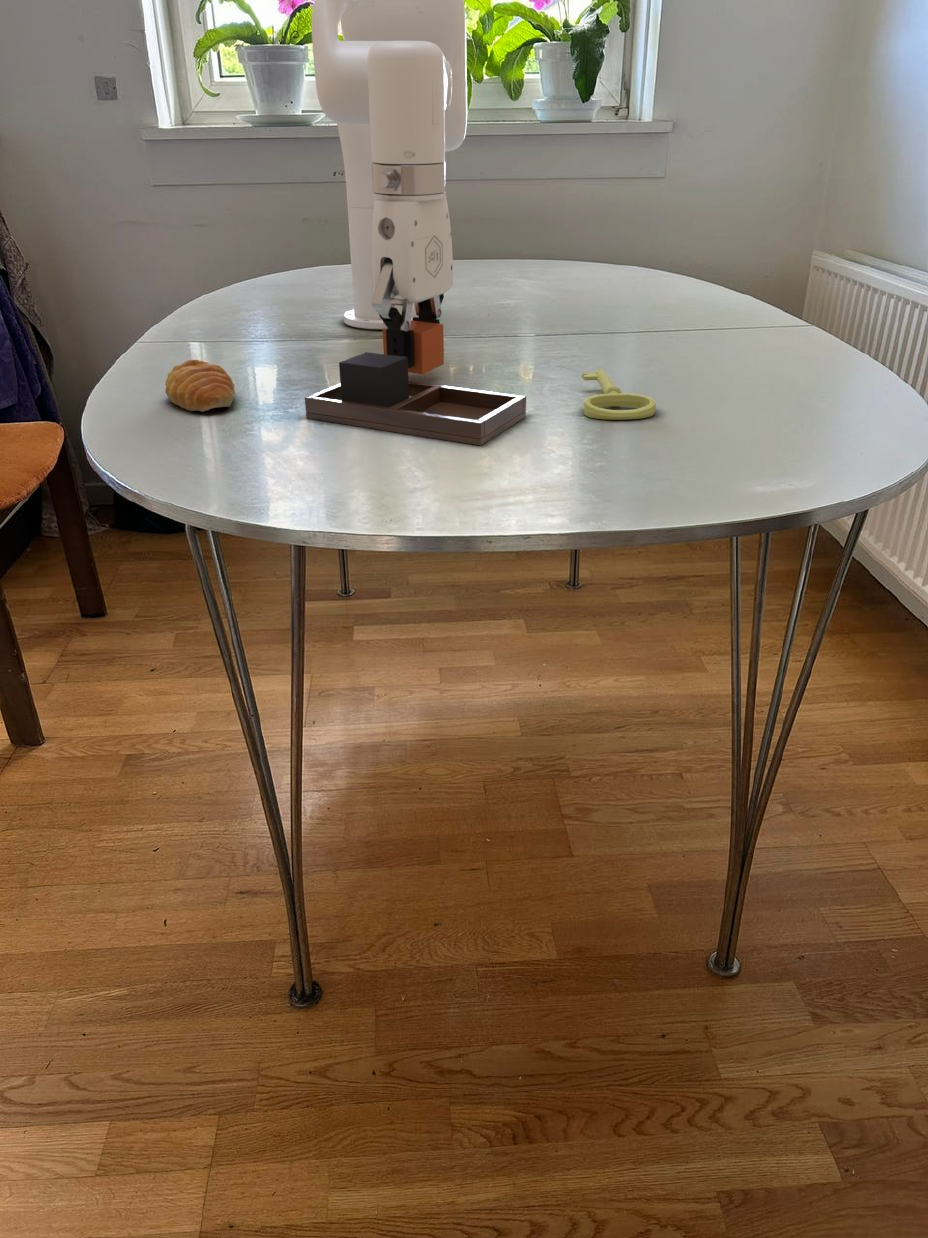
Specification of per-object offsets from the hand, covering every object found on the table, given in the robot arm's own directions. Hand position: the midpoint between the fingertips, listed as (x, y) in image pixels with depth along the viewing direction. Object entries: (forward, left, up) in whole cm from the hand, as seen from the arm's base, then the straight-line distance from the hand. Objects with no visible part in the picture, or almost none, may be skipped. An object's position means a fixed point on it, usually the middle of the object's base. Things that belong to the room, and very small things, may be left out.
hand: (414, 358), depth 103 cm
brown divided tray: (+13, +7, -3) cm, 15 cm away
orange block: (0, 0, -1) cm, 1 cm away
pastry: (+18, -16, -3) cm, 24 cm away
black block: (+13, +3, -2) cm, 13 cm away
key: (0, +23, -3) cm, 24 cm away
